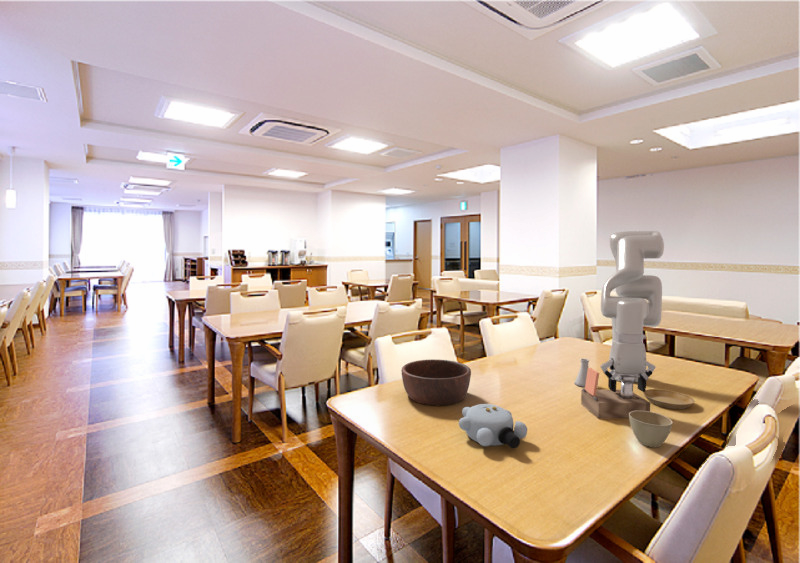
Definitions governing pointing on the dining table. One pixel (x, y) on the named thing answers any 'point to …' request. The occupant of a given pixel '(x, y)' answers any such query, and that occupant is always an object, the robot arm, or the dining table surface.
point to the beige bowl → (650, 427)
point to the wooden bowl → (436, 381)
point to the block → (612, 404)
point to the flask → (582, 373)
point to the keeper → (591, 381)
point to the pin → (627, 385)
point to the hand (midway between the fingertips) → (626, 390)
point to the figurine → (492, 426)
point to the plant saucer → (668, 398)
